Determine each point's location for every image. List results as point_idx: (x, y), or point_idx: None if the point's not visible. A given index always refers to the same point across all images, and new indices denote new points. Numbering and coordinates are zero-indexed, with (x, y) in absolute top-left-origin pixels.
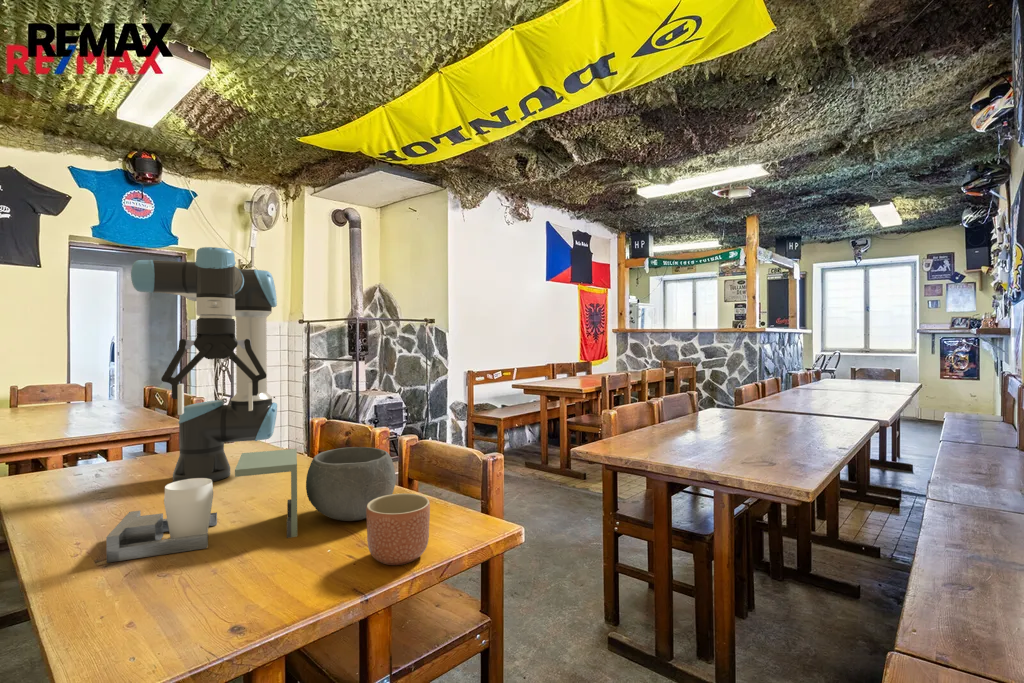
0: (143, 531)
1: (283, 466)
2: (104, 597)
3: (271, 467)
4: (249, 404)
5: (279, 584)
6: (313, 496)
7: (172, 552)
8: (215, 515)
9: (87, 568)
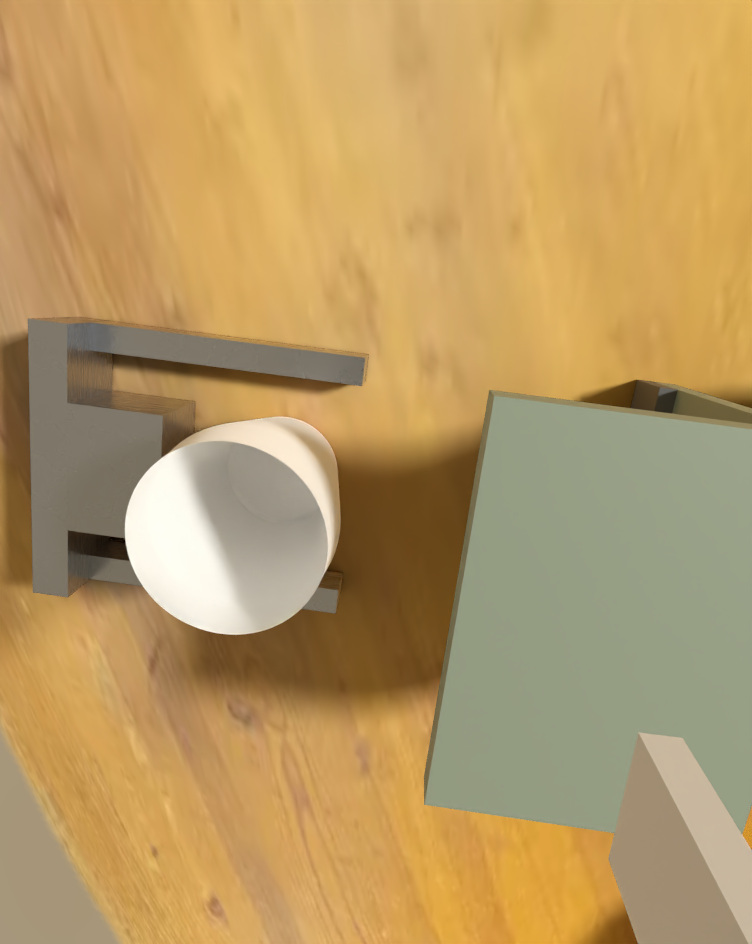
0: None
1: None
2: (134, 766)
3: (602, 828)
4: (646, 933)
5: (503, 902)
6: None
7: None
8: (360, 385)
9: None
